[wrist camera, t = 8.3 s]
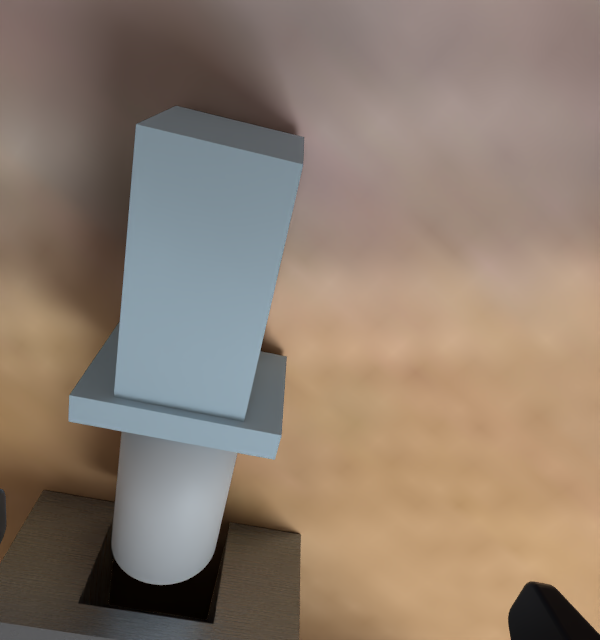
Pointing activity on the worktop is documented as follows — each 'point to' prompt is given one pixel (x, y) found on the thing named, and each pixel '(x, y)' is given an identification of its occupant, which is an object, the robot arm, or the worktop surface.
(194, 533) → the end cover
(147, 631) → the block
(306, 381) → the worktop surface
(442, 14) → the worktop surface
